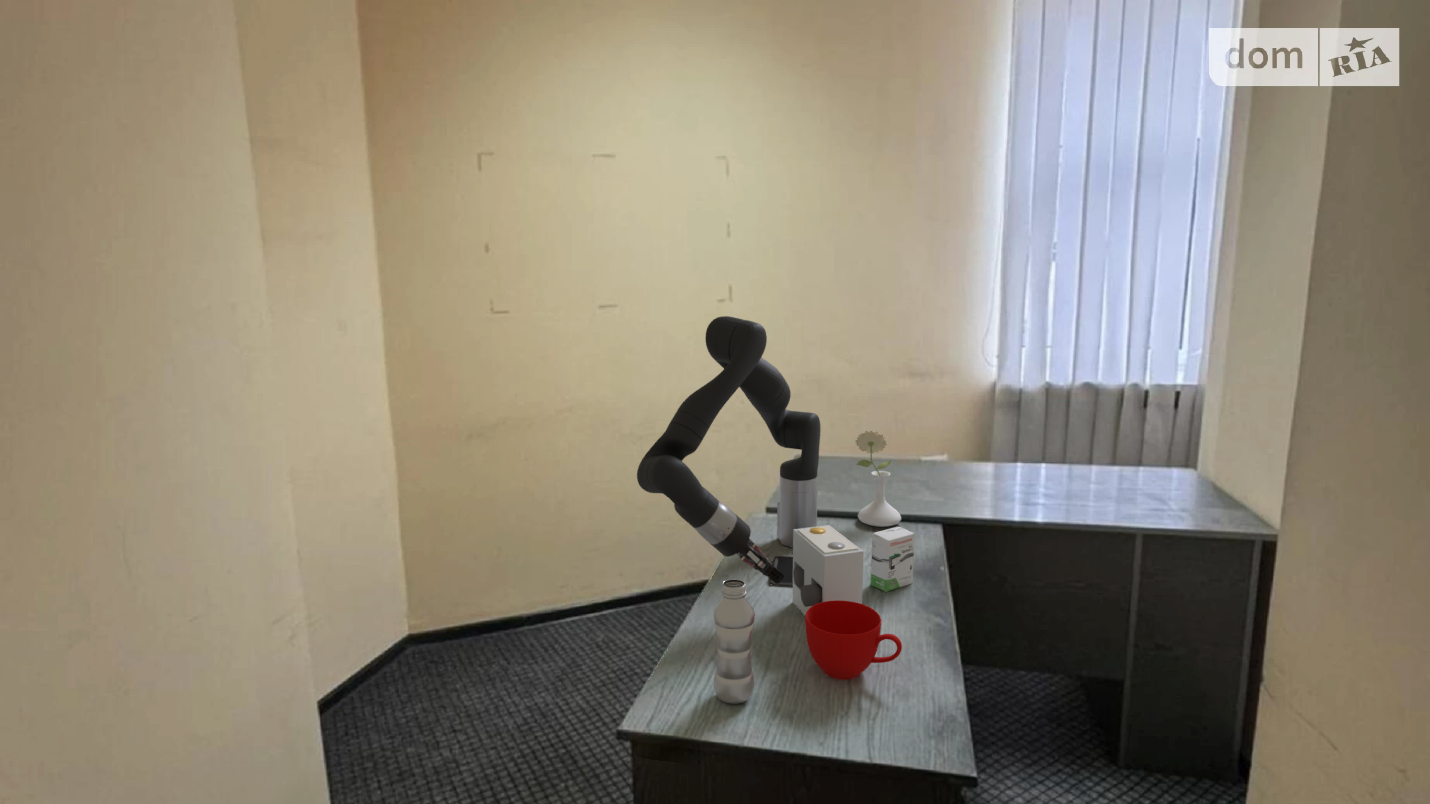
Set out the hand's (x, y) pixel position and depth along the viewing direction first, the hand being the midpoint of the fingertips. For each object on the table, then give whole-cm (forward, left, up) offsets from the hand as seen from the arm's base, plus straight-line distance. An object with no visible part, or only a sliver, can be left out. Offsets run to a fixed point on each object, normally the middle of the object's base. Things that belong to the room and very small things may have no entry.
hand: (779, 578), depth 155 cm
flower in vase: (-25, +55, -8) cm, 61 cm away
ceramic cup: (+25, -4, -8) cm, 26 cm away
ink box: (+4, +29, -8) cm, 30 cm away
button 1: (+2, +6, -2) cm, 6 cm away
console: (+7, +8, -7) cm, 13 cm away
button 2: (+9, +1, -2) cm, 9 cm away
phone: (-14, +15, -8) cm, 22 cm away
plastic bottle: (+19, -25, -8) cm, 32 cm away
